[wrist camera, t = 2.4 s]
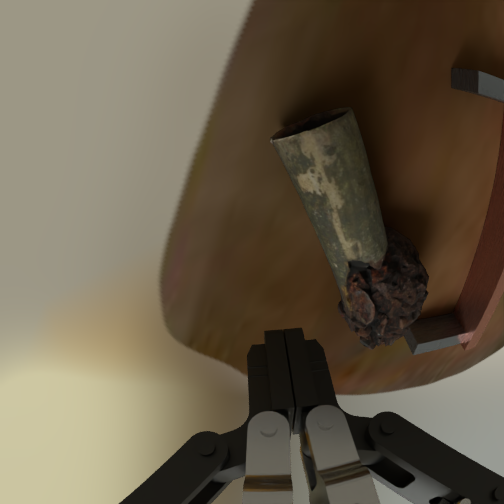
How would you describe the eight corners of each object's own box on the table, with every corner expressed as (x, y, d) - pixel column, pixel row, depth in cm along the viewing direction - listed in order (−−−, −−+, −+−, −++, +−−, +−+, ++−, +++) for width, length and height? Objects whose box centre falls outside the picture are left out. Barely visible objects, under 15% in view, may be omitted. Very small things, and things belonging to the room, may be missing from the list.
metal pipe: (265, 131, 17) (276, 150, 13) (364, 94, 16) (409, 102, 11) (344, 324, 26) (361, 374, 21) (411, 295, 25) (438, 339, 20)
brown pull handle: (515, 89, 14) (549, 99, 11) (458, 321, 27) (474, 347, 24) (451, 67, 14) (488, 72, 11) (402, 332, 27) (416, 363, 24)
